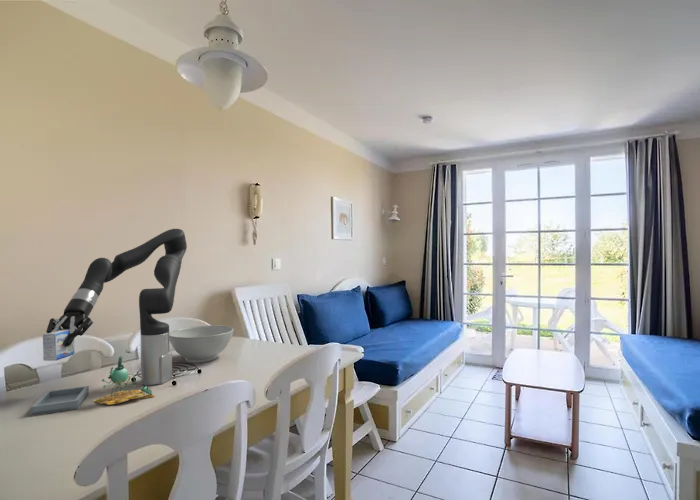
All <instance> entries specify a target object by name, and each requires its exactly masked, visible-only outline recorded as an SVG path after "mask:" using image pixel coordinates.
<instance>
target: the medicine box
mask: <svg viewBox="0 0 700 500" xmlns="http://www.w3.org/2000/svg"><path fill="white" fill-rule="evenodd" d="M68 334H70V329H64V330H59V331H55V332H51V333H47V332H46V333H44V334H42V351H43V353H42V356H43V357H42V359H43V361H44V362H45V361H46V362H47V361H48V362H49V361H51V362H52V361H58V360H59V361H60V360H62V359H65V358H68V357H71V356H73V355H75V339H74V340H73V342H72V343H71V345H69V347H65V346H64V345H63V342H64V341H65V339H66V337H67V335H68Z"/></svg>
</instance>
